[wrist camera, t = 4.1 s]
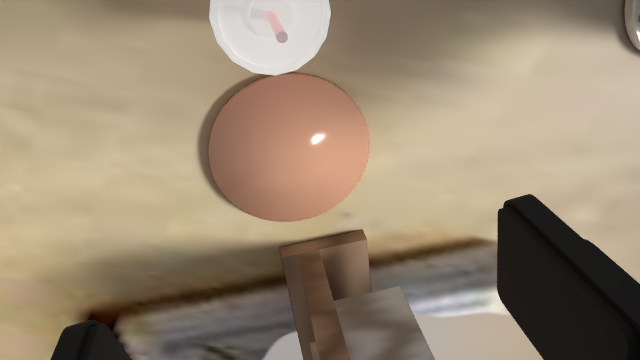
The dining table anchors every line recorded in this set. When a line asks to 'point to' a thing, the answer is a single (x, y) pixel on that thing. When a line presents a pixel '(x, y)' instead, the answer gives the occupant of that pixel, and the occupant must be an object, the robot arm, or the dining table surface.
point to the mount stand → (347, 304)
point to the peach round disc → (288, 147)
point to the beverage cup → (270, 32)
